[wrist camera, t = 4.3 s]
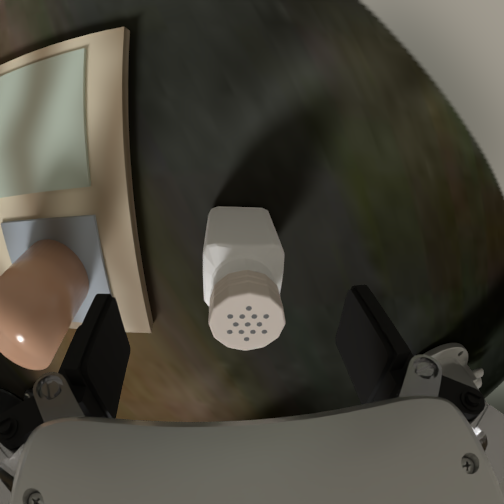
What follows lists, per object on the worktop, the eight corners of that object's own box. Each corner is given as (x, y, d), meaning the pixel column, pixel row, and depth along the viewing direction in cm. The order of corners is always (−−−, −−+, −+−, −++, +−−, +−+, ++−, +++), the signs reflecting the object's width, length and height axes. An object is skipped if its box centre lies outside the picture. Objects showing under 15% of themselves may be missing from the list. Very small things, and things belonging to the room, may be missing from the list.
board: (130, 30, 14) (122, 25, 12) (153, 323, 24) (150, 335, 22) (-22, 80, 13) (-33, 80, 11) (24, 314, 23) (17, 324, 21)
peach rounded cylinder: (78, 238, 18) (29, 296, 12) (97, 308, 21) (66, 375, 15) (17, 240, 18) (-35, 290, 12) (38, 305, 20) (1, 362, 14)
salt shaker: (264, 258, 22) (288, 355, 13) (208, 257, 21) (200, 356, 13) (269, 205, 20) (302, 283, 12) (208, 203, 20) (196, 283, 11)
